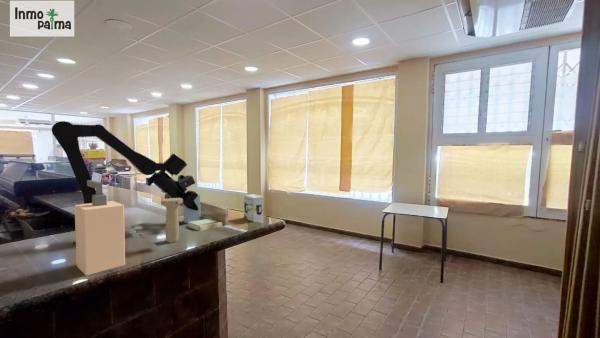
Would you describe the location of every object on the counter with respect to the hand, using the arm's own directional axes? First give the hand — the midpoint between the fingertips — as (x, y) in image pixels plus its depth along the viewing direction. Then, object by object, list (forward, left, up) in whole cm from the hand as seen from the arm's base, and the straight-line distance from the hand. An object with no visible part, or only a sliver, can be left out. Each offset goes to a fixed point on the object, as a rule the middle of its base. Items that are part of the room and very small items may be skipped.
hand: (195, 209), depth 114 cm
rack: (-1, -4, -7) cm, 8 cm away
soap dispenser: (-41, -4, -7) cm, 42 cm away
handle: (-23, -11, -7) cm, 26 cm away
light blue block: (-1, +1, -7) cm, 7 cm away
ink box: (+14, -19, -7) cm, 25 cm away
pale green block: (-5, -8, -5) cm, 11 cm away
